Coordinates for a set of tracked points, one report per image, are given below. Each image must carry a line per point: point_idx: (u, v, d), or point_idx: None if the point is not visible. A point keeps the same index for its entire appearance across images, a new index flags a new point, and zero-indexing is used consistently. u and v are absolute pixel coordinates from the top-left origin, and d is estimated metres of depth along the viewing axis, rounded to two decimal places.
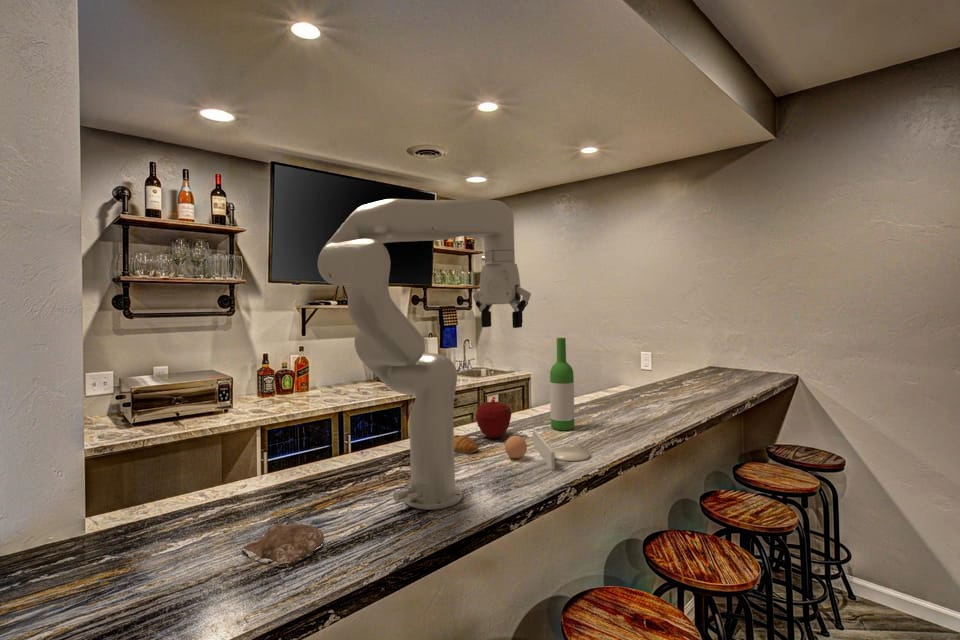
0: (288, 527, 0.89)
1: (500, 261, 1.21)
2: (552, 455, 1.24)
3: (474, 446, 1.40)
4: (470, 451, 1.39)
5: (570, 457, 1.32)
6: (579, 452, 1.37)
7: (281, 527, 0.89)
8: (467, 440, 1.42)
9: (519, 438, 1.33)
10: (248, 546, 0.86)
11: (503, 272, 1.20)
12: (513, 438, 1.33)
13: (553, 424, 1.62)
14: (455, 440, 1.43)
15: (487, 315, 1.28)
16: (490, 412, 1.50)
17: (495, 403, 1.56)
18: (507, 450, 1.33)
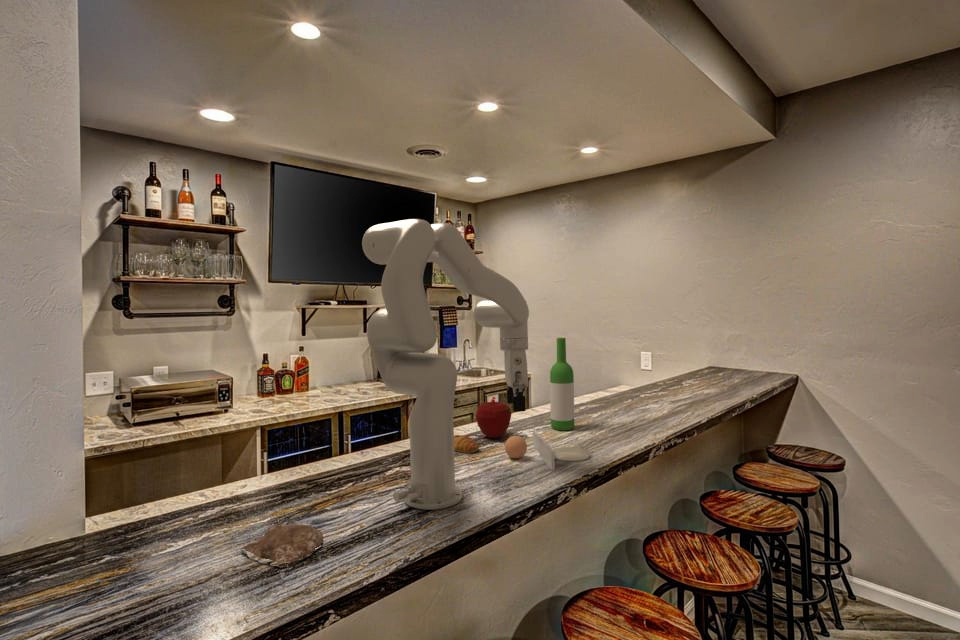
0: (287, 527, 0.89)
1: None
2: (552, 455, 1.24)
3: (475, 446, 1.40)
4: (471, 451, 1.39)
5: (570, 457, 1.32)
6: (579, 452, 1.37)
7: (280, 527, 0.89)
8: (468, 440, 1.43)
9: (519, 438, 1.33)
10: (247, 546, 0.86)
11: None
12: (513, 438, 1.33)
13: (553, 424, 1.62)
14: (455, 440, 1.43)
15: None
16: (490, 412, 1.50)
17: (495, 403, 1.56)
18: (507, 450, 1.33)
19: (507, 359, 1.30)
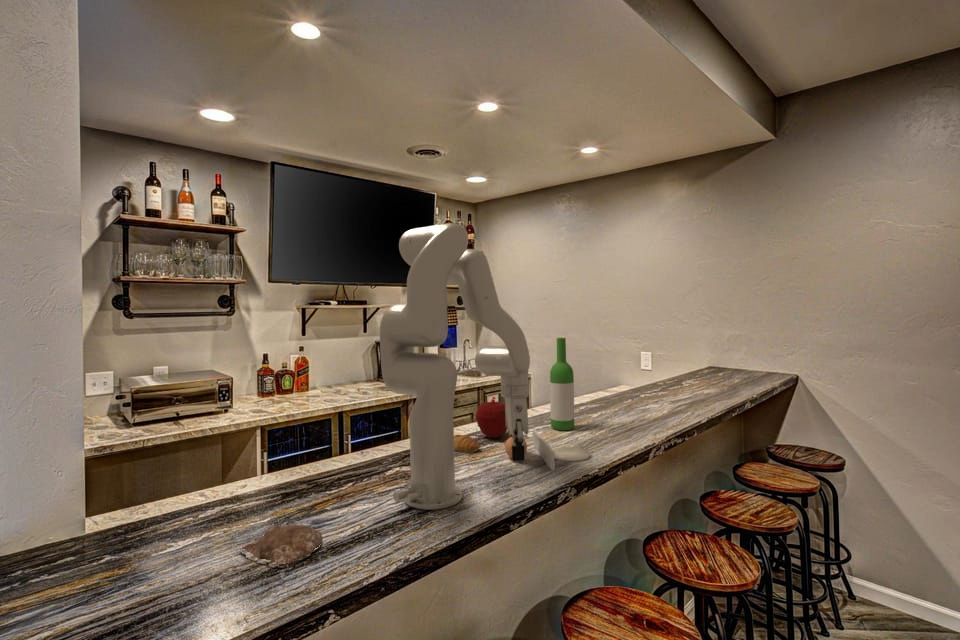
0: (286, 528, 0.89)
1: None
2: (552, 455, 1.24)
3: (476, 445, 1.41)
4: (472, 450, 1.40)
5: (570, 457, 1.32)
6: (579, 452, 1.37)
7: (279, 528, 0.89)
8: (469, 439, 1.43)
9: None
10: (246, 547, 0.86)
11: None
12: None
13: (553, 424, 1.62)
14: (456, 439, 1.43)
15: None
16: (490, 412, 1.50)
17: (495, 403, 1.56)
18: (507, 450, 1.33)
19: (508, 406, 1.31)
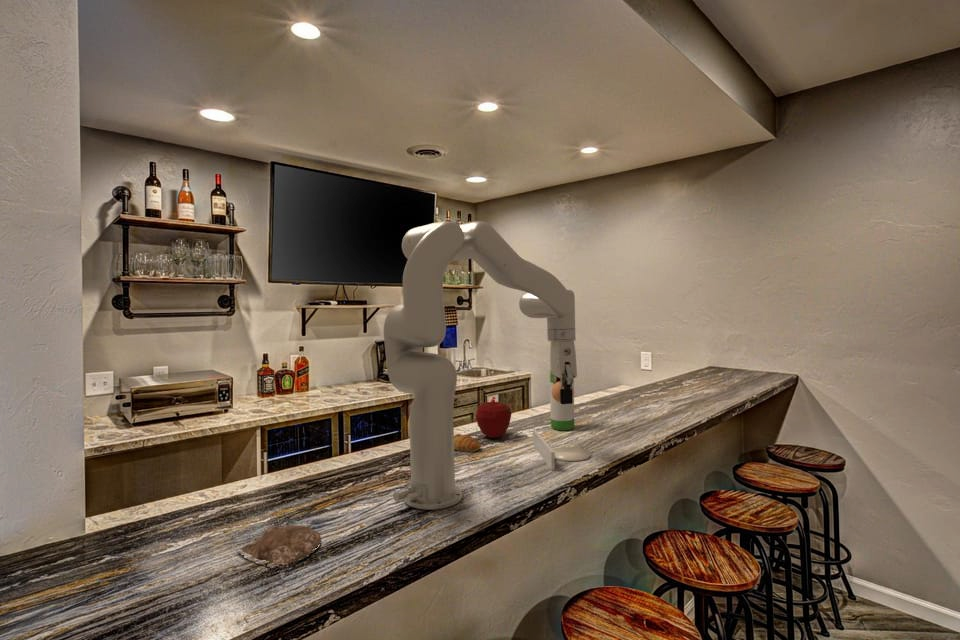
0: (285, 528, 0.88)
1: None
2: (552, 455, 1.24)
3: (477, 444, 1.42)
4: (473, 450, 1.40)
5: (570, 457, 1.32)
6: (579, 452, 1.37)
7: (278, 528, 0.89)
8: (470, 439, 1.43)
9: None
10: (244, 548, 0.86)
11: None
12: (560, 382, 1.34)
13: (553, 424, 1.62)
14: (457, 439, 1.44)
15: None
16: (490, 412, 1.50)
17: (495, 403, 1.56)
18: (555, 394, 1.34)
19: (556, 350, 1.31)
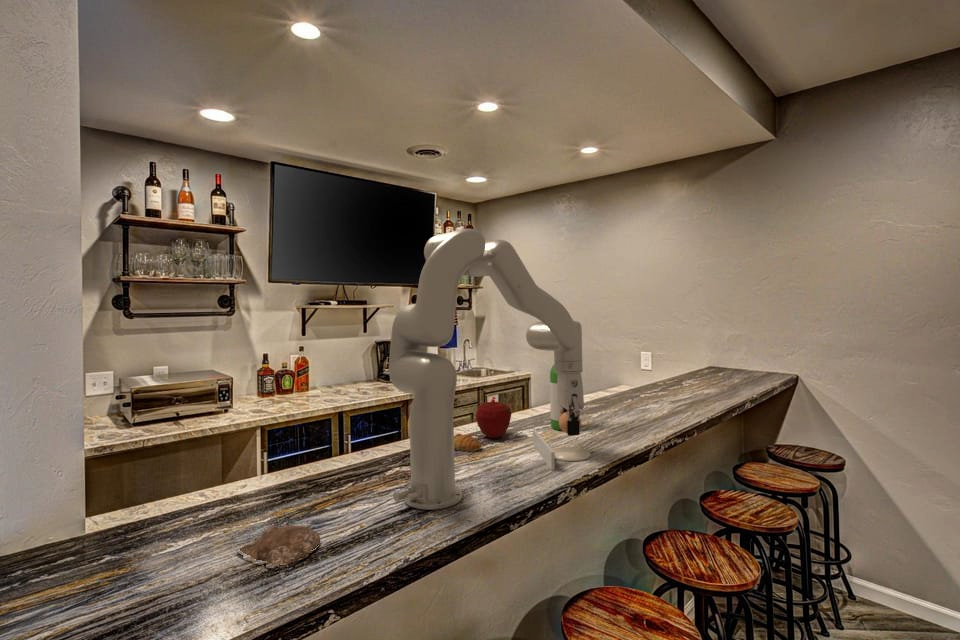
0: (284, 529, 0.88)
1: None
2: (552, 455, 1.24)
3: (478, 444, 1.42)
4: (474, 449, 1.41)
5: (570, 457, 1.32)
6: (579, 452, 1.37)
7: (277, 529, 0.89)
8: (470, 438, 1.44)
9: None
10: (243, 548, 0.86)
11: None
12: (567, 413, 1.34)
13: (553, 424, 1.62)
14: (458, 439, 1.44)
15: None
16: (490, 412, 1.50)
17: (495, 403, 1.56)
18: (562, 425, 1.34)
19: (563, 382, 1.32)
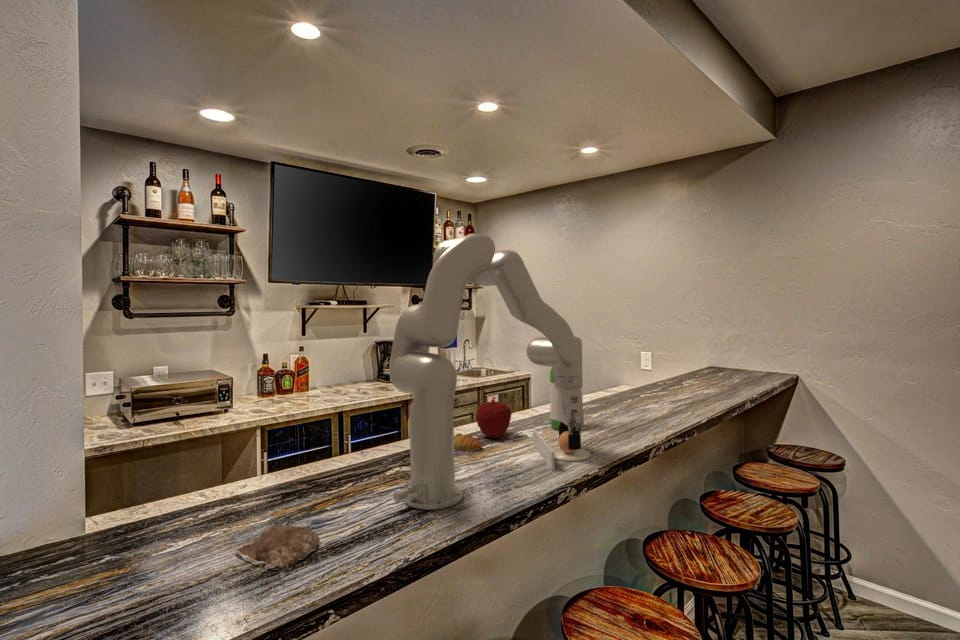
0: (283, 529, 0.88)
1: None
2: (552, 455, 1.24)
3: (478, 444, 1.42)
4: (475, 449, 1.41)
5: (570, 457, 1.32)
6: (579, 452, 1.37)
7: (276, 529, 0.89)
8: (471, 438, 1.44)
9: None
10: (242, 548, 0.86)
11: None
12: (567, 433, 1.35)
13: (553, 424, 1.62)
14: (458, 438, 1.44)
15: None
16: (490, 412, 1.50)
17: (495, 403, 1.56)
18: (561, 445, 1.34)
19: (563, 397, 1.32)
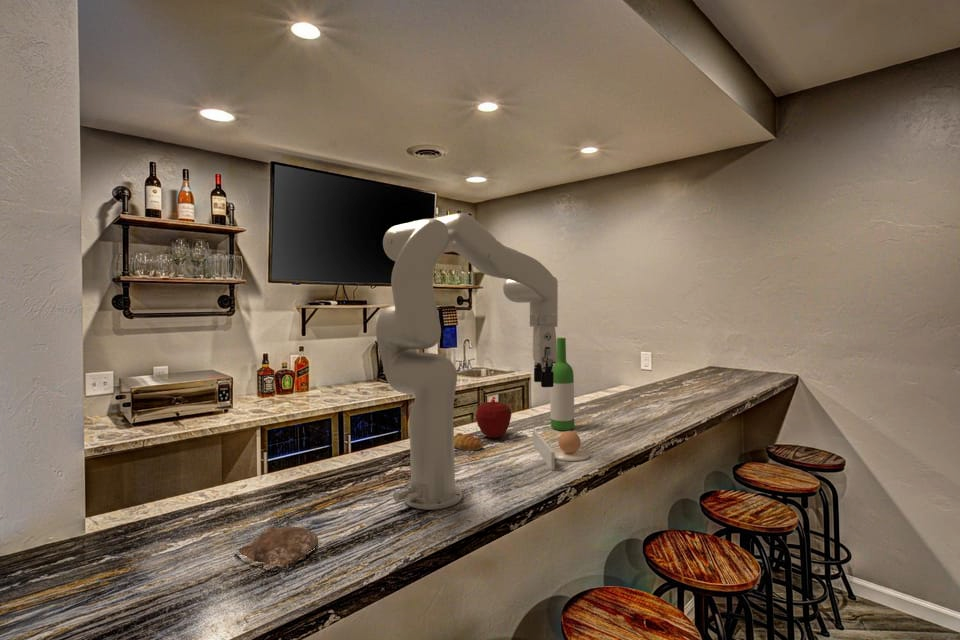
0: (281, 530, 0.88)
1: None
2: (552, 455, 1.24)
3: (479, 443, 1.43)
4: (475, 448, 1.42)
5: (570, 457, 1.32)
6: (579, 452, 1.37)
7: (274, 530, 0.88)
8: (471, 437, 1.45)
9: (573, 433, 1.35)
10: (241, 549, 0.85)
11: None
12: (567, 433, 1.35)
13: (553, 424, 1.62)
14: (459, 438, 1.45)
15: None
16: (491, 412, 1.50)
17: (495, 403, 1.56)
18: (561, 445, 1.34)
19: (537, 335, 1.32)
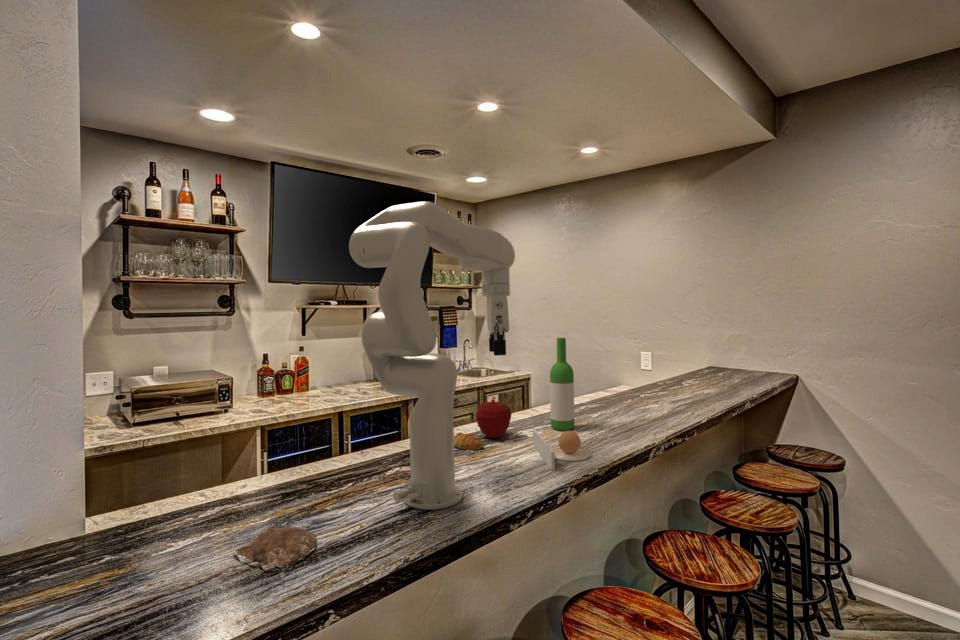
0: (280, 530, 0.88)
1: None
2: (552, 455, 1.24)
3: (480, 442, 1.43)
4: (476, 448, 1.42)
5: (570, 457, 1.32)
6: (579, 452, 1.37)
7: (273, 530, 0.88)
8: (472, 437, 1.45)
9: (573, 433, 1.35)
10: (239, 550, 0.85)
11: None
12: (567, 433, 1.35)
13: (553, 424, 1.62)
14: (460, 438, 1.45)
15: None
16: (490, 412, 1.50)
17: (495, 403, 1.56)
18: (561, 444, 1.34)
19: (489, 304, 1.32)
